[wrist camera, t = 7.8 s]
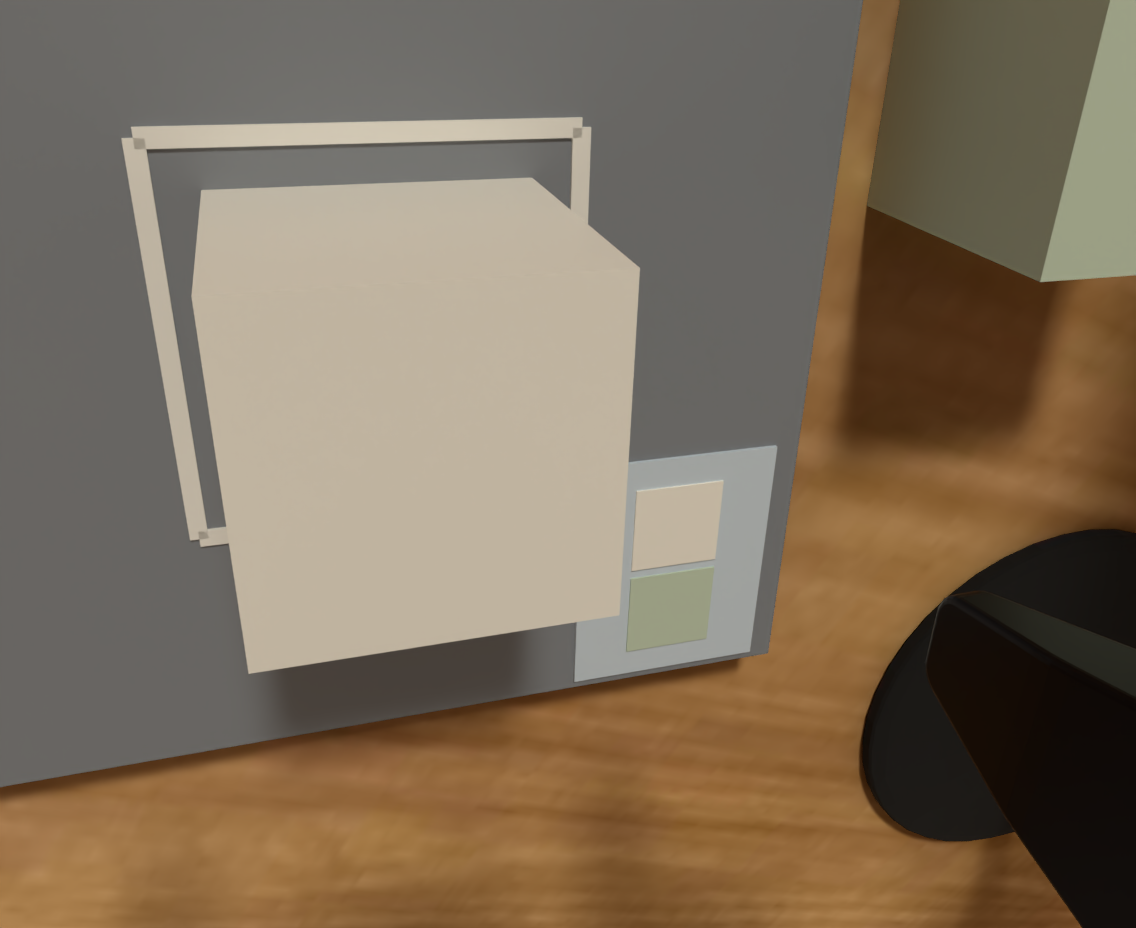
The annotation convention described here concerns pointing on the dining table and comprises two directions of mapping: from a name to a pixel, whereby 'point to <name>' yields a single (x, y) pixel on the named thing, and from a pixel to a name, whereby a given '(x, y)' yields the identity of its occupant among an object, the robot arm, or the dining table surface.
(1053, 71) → the sage block
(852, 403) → the dining table surface
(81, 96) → the slate board
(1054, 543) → the wine glass
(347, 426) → the cream block
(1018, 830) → the robot arm
